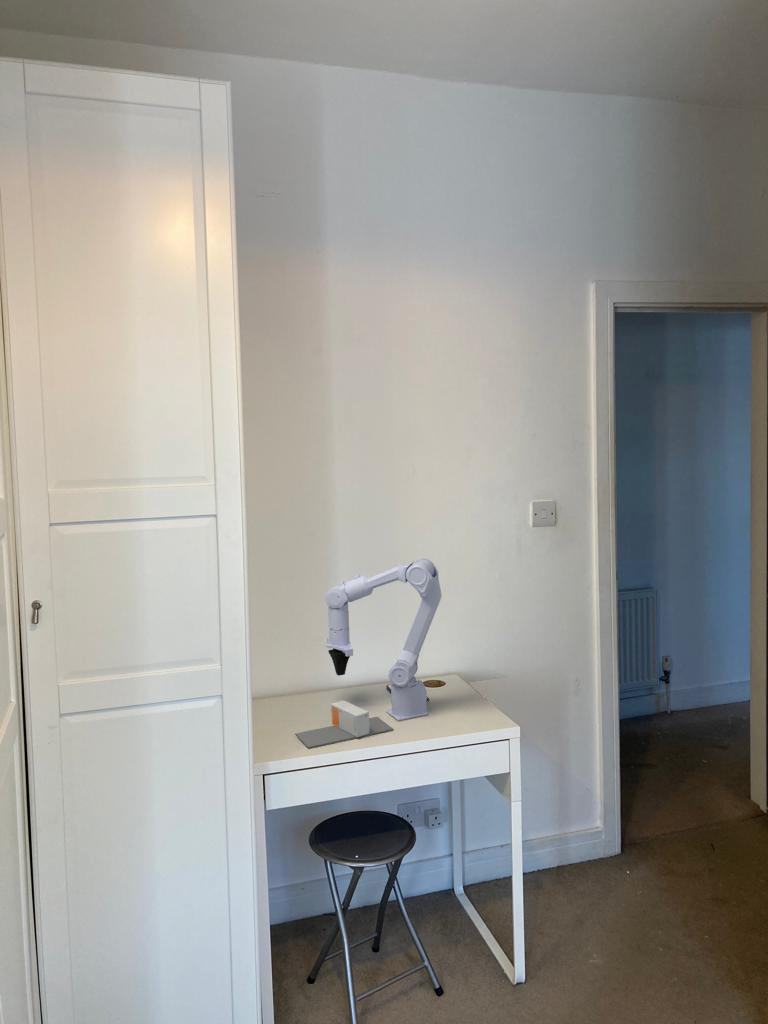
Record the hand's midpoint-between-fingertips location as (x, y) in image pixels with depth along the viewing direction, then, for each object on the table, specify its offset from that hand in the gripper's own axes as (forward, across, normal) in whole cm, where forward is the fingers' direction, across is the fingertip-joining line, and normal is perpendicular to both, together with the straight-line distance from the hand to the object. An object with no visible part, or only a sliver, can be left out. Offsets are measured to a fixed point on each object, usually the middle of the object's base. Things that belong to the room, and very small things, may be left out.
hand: (340, 674), depth 221 cm
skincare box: (+7, +9, -5) cm, 13 cm away
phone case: (+11, -2, +22) cm, 25 cm away
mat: (+10, +16, -6) cm, 20 cm away
